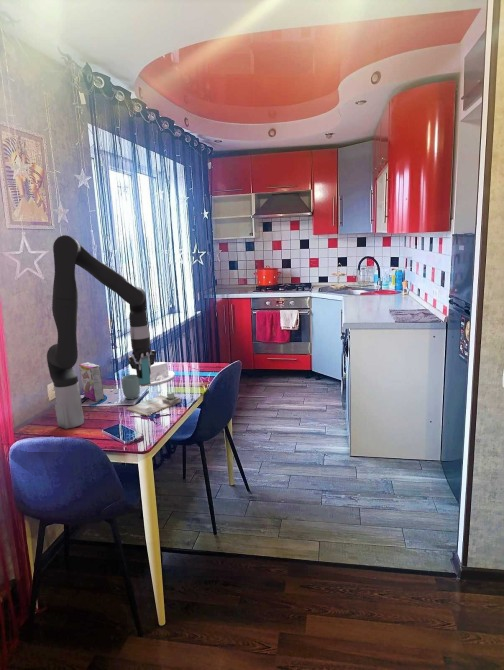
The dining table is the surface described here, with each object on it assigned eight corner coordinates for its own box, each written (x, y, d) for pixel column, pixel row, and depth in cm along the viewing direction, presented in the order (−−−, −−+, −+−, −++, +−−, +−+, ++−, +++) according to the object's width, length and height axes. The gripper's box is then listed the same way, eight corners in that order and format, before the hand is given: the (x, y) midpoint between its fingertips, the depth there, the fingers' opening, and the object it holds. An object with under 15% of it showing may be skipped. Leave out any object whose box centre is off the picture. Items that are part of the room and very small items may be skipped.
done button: (170, 400, 205) (170, 394, 204) (166, 399, 207) (165, 393, 206) (176, 398, 207) (175, 392, 207) (171, 396, 209) (170, 391, 209)
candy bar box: (83, 397, 222) (78, 364, 219) (93, 394, 226) (88, 361, 222) (95, 402, 215) (90, 367, 211) (105, 399, 218) (100, 365, 215)
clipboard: (147, 416, 194) (146, 411, 193) (126, 409, 202) (125, 405, 202) (181, 401, 208) (180, 397, 208) (160, 396, 217) (159, 392, 216)
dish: (126, 389, 231) (123, 367, 229) (127, 375, 255) (124, 355, 253) (176, 382, 237) (174, 361, 234) (172, 369, 261) (170, 350, 258)
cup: (136, 400, 213) (134, 379, 211) (120, 400, 215) (118, 379, 213) (143, 394, 221) (141, 374, 219) (128, 394, 222) (126, 374, 220)
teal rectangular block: (144, 385, 193) (141, 357, 190) (138, 384, 195) (135, 356, 193) (150, 383, 195) (148, 355, 193) (145, 382, 198) (142, 354, 195)
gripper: (131, 340, 184) (135, 382, 187) (159, 334, 194) (163, 374, 198) (119, 338, 188) (124, 380, 192) (148, 332, 199) (151, 371, 202)
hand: (144, 376), depth 195 cm, fingers closed on teal rectangular block, 3 cm apart
